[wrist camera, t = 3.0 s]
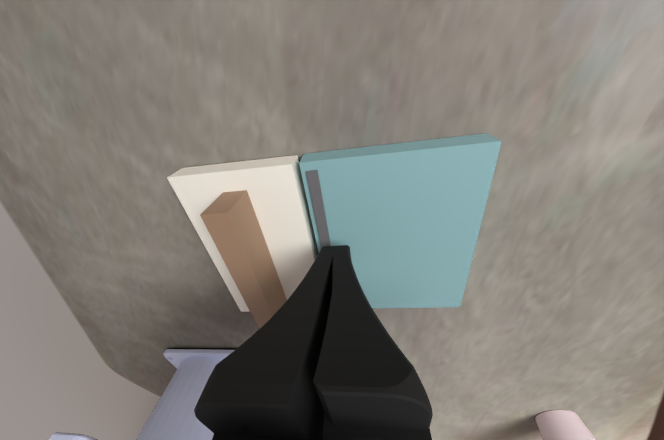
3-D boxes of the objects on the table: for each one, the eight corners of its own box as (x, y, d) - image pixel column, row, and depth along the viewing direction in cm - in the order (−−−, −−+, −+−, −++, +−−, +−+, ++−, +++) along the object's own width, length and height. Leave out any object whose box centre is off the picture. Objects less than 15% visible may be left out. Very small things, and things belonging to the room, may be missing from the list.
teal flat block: (453, 291, 15) (460, 308, 14) (332, 294, 16) (330, 310, 15) (487, 133, 10) (503, 141, 9) (303, 153, 11) (298, 163, 10)
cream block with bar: (327, 295, 16) (322, 340, 14) (247, 297, 17) (228, 339, 15) (297, 155, 11) (279, 183, 8) (182, 167, 12) (133, 197, 9)
